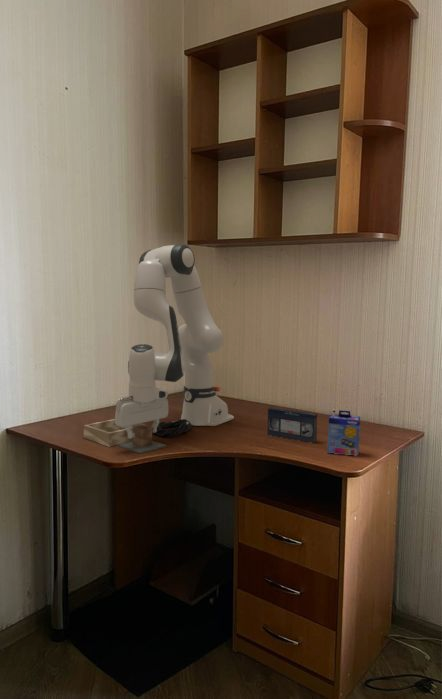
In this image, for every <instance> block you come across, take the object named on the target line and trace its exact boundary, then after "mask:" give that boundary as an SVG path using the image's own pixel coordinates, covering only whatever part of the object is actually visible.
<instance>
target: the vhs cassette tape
mask: <svg viewBox="0 0 442 699" xmlns="http://www.w3.org/2000/svg"><path fill="white" fill-rule="evenodd" d="M269 435H272V436H271V437H275V436H277V437H276V438H280V437H283V438H282V439H286V438H288V439H287V440H291V439H294V440H293V441H297V440H300V441H299V442H302V441H305V442H304V443H308V442H312V443H311V444H315V443H317V440H318V439H317V435H318V414H316V413H310V412H304V411H297V410H289V409H283V408H276V407H269V408H267V436H269ZM314 442H315V443H314Z"/></svg>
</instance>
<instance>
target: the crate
mask: <svg viewBox="0 0 442 699" xmlns="http://www.w3.org/2000/svg"><path fill="white" fill-rule="evenodd" d="M140 425H146V426H148V425H147V424H144V423H140V424H135V425H132V428H131V431H132V432H133V427H136V426H140ZM83 439H86V440H89V441H91V442H92V441H93V442H94V443H98V444H100V445H103V446H106V447H108V448H109V447H113V446H119V445H120V444H124V443H128V442H132V441H133V438H131V439H130V438H128V433H127V431H126V429H125V427H119V426H117V425H116V424H115V418H113V419H107V420H104V421H99V422H98V421H97V422H93V423H90V424H84V425H83Z"/></svg>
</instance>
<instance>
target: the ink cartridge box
mask: <svg viewBox="0 0 442 699" xmlns="http://www.w3.org/2000/svg"><path fill="white" fill-rule="evenodd" d="M327 425H328V428H327V432H328V433H327V454H328V453H334V454H333V455H337V454H345V455H344V456H347V455H355V456H357V455H358V456H359V452H360V436H361V435H360V432H361V431H360V430H361V416H359V415H351V410H340V409H338V414H337V413H330V414H329V416H328V424H327ZM355 456H354V457H355ZM358 456H357V457H358Z"/></svg>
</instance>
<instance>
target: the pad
mask: <svg viewBox="0 0 442 699" xmlns="http://www.w3.org/2000/svg"><path fill="white" fill-rule="evenodd" d="M118 447H119V448H122V449H124V450H128V451H131V452H134V453H135V454H143V453H147V452H152V451H154V450H158V449H161V448H166V447H167V445H166V444H164V443H161V442H158V441H154V440H152V445H149V446H145V447H142V448H141V447H138V446H135V445H133V441H131V442H127V443H123V444H119V445H118Z"/></svg>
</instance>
